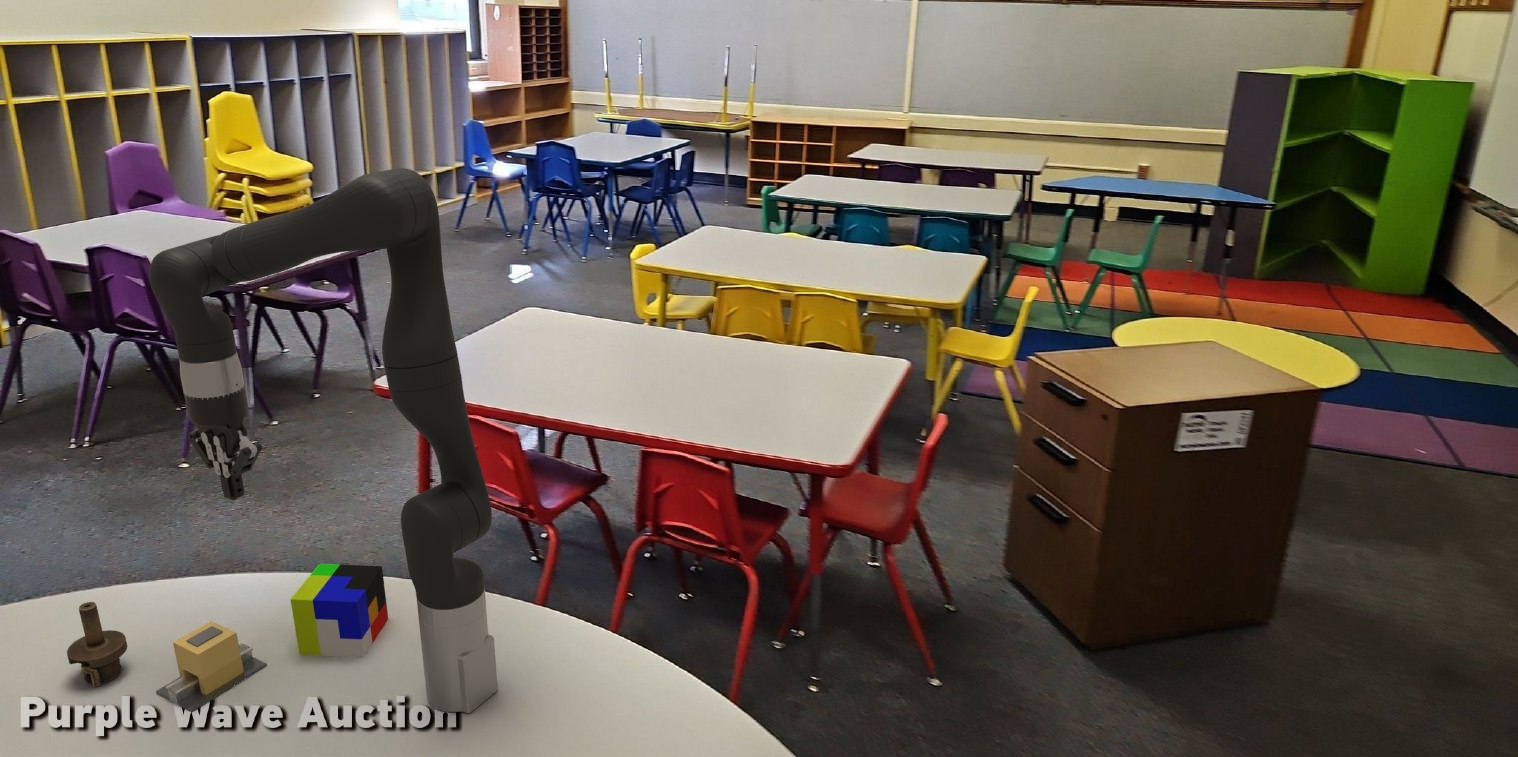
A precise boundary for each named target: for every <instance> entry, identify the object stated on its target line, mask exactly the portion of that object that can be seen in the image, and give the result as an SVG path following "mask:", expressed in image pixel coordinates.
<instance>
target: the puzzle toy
mask: <svg viewBox="0 0 1518 757" xmlns="http://www.w3.org/2000/svg"><path fill="white" fill-rule="evenodd" d="M383 572H384V571H383V566H381V565H380V566H379V565H365V564H364V565H362V564H361V565H359V564H358V565H357V564H336V563H335V564H334V563H333V564H332V563H319V564H318V565H317V566H316V567H315V568H314V570H313V571H312V572H311V574H309V576H308V577H307V578H306V579H305V581H304V582H303V583H302V584H301V586H300V587H299V588H298V589H297V591H296V592H295V593H294V594H293V595H292V596H291V598H290V605H291V612H292V618H293V625H294V630H295V637H296V642H297V647H298V654H299V655H300V656H301V655H304V656H325V657H326V656H327V657H348V658H349V657H352V658H353V657H355V658H365V657H366V655H367V653H368V652H369V650H370V649H371V647H372V646H373V644H374V643H375V641H376V640H377V638H378V637H379V634H380V632H382V630H383V628H384V626H385V625H386V623H387V622H388V620H389V614H388V613H389V612H388V604H387V595H386V589H385V581H384V573H383Z"/></svg>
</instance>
